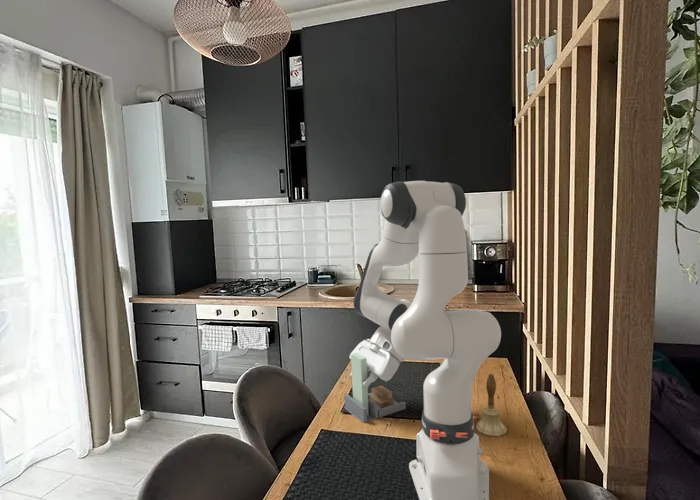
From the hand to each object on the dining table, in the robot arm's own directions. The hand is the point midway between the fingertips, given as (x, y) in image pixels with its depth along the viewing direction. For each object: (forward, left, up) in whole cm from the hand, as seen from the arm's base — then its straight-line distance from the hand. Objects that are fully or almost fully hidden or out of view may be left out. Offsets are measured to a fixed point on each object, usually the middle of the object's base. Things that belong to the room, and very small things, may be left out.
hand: (357, 381), depth 125 cm
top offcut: (+5, -7, -7) cm, 11 cm away
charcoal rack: (+3, -5, -11) cm, 12 cm away
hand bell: (-5, -39, -11) cm, 41 cm away
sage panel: (0, -1, -10) cm, 10 cm away
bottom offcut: (+5, -7, -10) cm, 13 cm away
